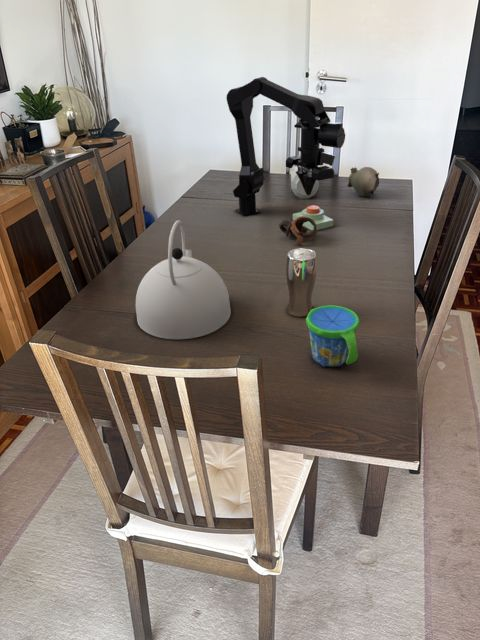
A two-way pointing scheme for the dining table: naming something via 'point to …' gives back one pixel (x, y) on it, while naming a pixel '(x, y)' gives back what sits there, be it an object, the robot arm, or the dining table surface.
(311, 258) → the beer glass
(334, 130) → the robot arm
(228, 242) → the dining table surface
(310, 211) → the call button
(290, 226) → the pottery mug
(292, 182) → the device
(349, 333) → the snack cup
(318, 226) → the box
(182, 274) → the kettle
